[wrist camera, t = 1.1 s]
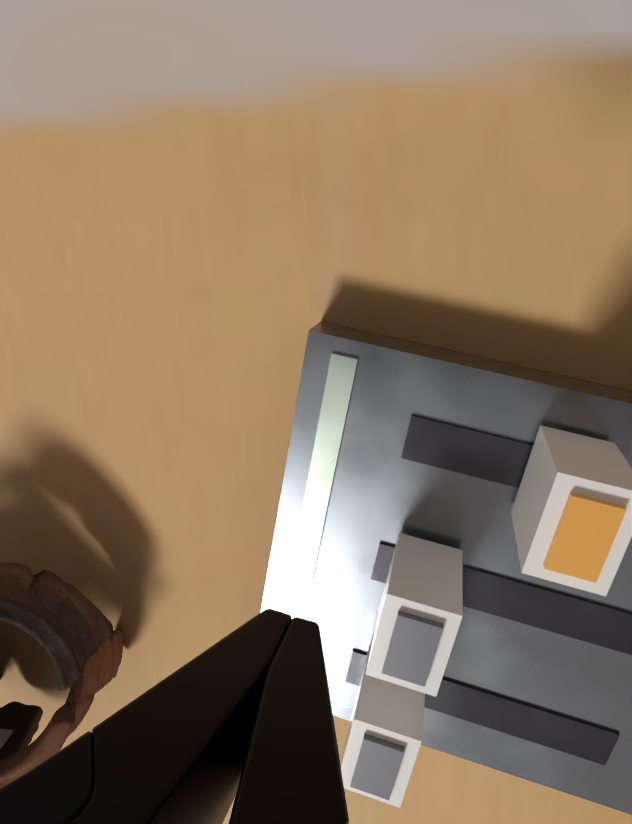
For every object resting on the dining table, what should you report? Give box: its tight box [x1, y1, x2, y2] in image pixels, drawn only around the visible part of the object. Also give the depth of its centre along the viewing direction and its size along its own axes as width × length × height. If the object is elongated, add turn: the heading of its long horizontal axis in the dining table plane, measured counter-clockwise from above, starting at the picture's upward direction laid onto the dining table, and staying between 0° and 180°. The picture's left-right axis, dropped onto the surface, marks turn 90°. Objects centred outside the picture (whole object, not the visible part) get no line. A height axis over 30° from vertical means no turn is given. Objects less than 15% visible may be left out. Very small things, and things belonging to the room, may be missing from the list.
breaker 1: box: [366, 533, 463, 697], centre depth 17 cm, size 2×3×3 cm
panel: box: [261, 322, 632, 815], centre depth 19 cm, size 18×14×2 cm
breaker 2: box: [341, 644, 425, 808], centre depth 19 cm, size 2×3×3 cm
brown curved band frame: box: [0, 563, 123, 788], centre depth 24 cm, size 12×10×8 cm
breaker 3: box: [511, 425, 632, 596], centre depth 15 cm, size 2×3×3 cm
